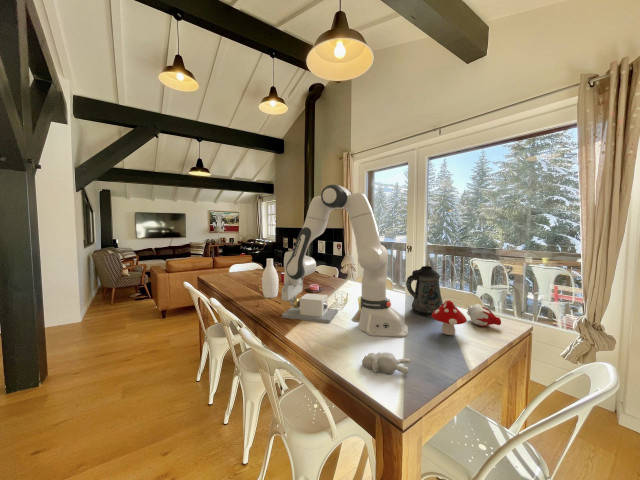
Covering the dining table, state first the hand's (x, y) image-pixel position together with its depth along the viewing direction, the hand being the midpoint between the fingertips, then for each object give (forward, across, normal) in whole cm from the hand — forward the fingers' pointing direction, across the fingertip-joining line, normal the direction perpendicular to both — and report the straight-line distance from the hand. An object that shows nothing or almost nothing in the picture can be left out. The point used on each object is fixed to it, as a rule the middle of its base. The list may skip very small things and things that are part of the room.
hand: (292, 304), depth 139 cm
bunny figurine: (+5, -41, -52) cm, 66 cm away
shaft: (+2, 0, -10) cm, 11 cm away
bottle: (+5, +25, +28) cm, 38 cm away
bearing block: (+5, 0, -10) cm, 11 cm away
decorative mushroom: (+5, -5, -76) cm, 77 cm away
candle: (+5, +11, -93) cm, 94 cm away
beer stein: (+5, +21, -69) cm, 73 cm away
